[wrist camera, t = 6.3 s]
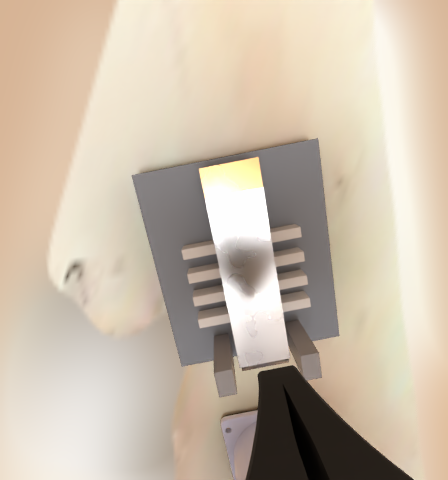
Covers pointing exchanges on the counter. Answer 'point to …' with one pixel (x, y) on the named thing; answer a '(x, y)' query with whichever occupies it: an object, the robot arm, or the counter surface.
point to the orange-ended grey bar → (246, 261)
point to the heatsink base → (207, 268)
